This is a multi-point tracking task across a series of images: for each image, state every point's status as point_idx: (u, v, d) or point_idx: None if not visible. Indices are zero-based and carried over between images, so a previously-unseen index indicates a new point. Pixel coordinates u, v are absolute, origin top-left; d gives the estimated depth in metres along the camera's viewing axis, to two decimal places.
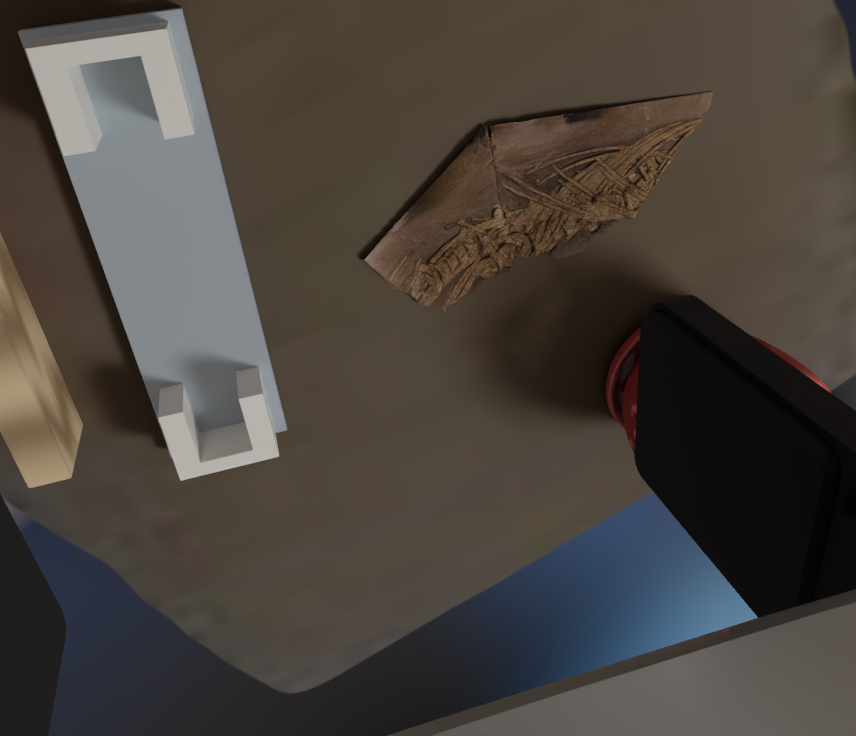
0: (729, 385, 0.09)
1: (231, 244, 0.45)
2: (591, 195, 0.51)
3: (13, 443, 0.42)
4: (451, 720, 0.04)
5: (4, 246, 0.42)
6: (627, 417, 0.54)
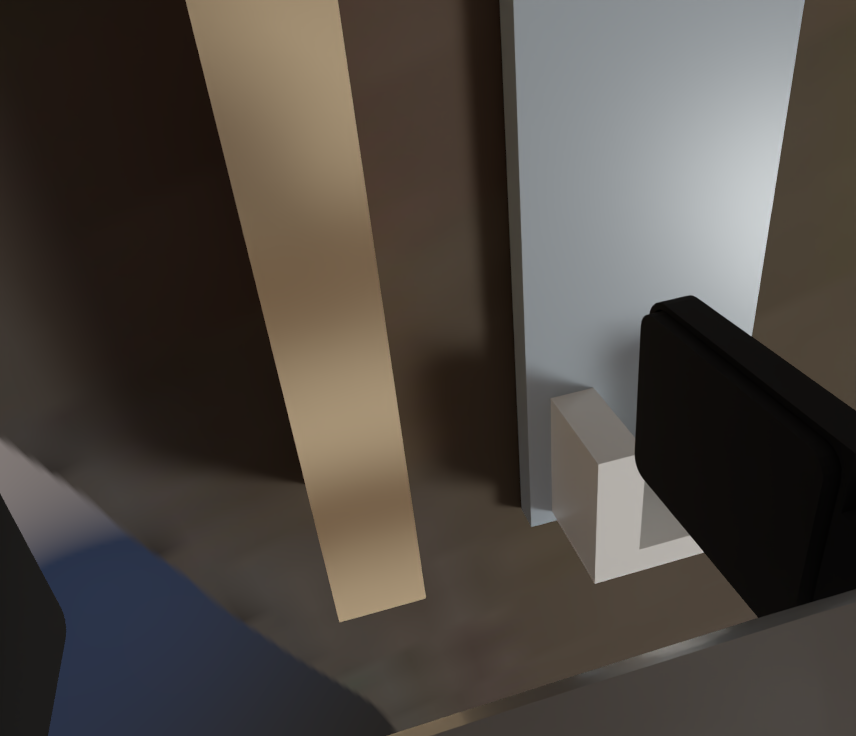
0: (729, 385, 0.09)
1: (774, 87, 0.21)
2: None
3: (332, 532, 0.18)
4: (451, 720, 0.04)
5: None
6: None
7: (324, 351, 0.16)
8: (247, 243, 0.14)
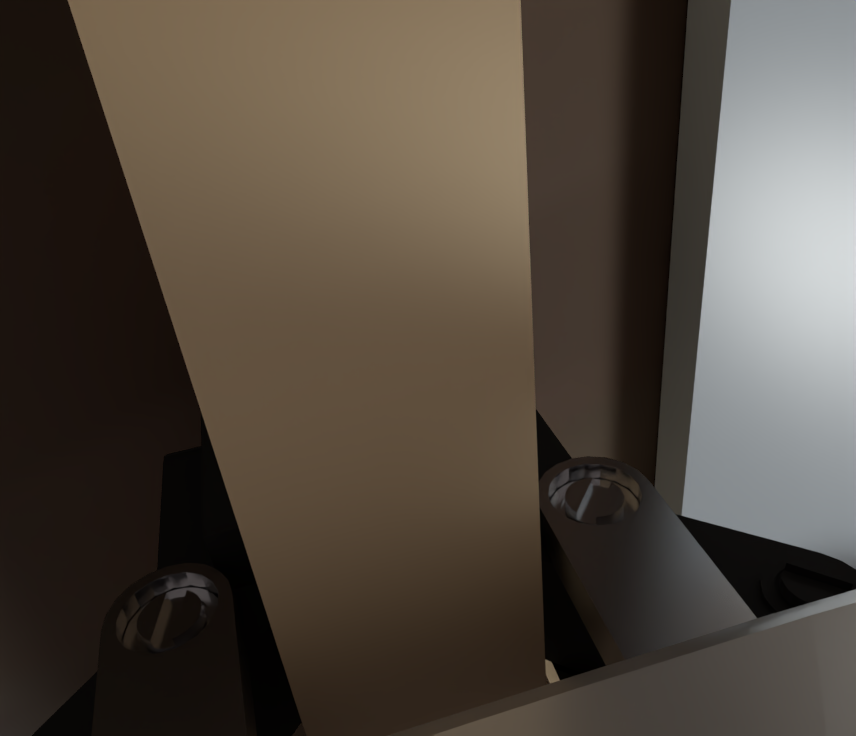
0: None
1: None
2: None
3: None
4: (451, 720, 0.04)
5: None
6: None
7: None
8: (294, 686, 0.07)
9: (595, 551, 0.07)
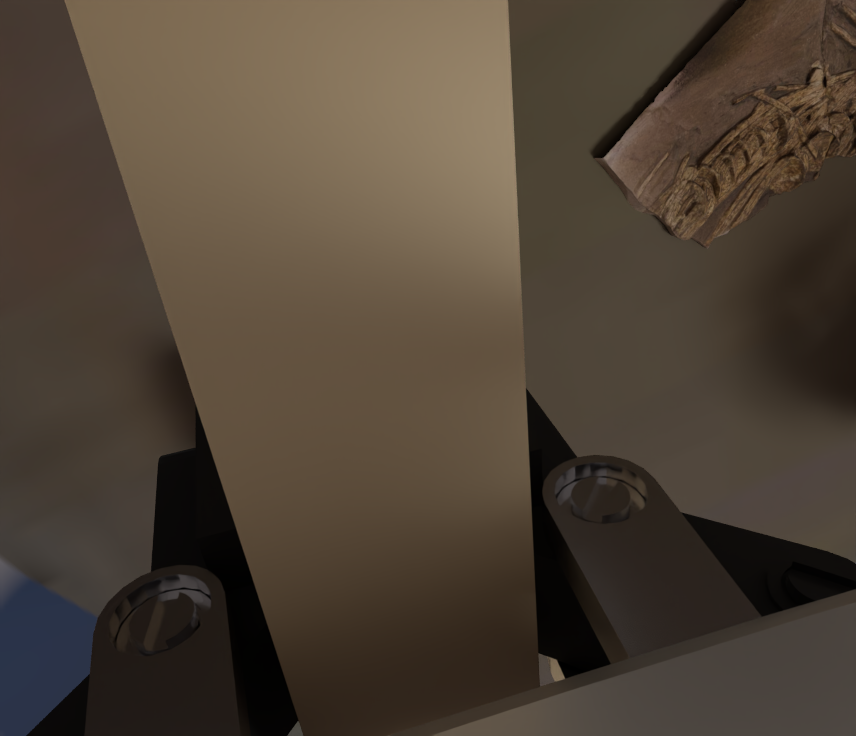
0: None
1: None
2: None
3: None
4: (452, 720, 0.04)
5: None
6: None
7: None
8: (289, 681, 0.07)
9: (601, 549, 0.07)
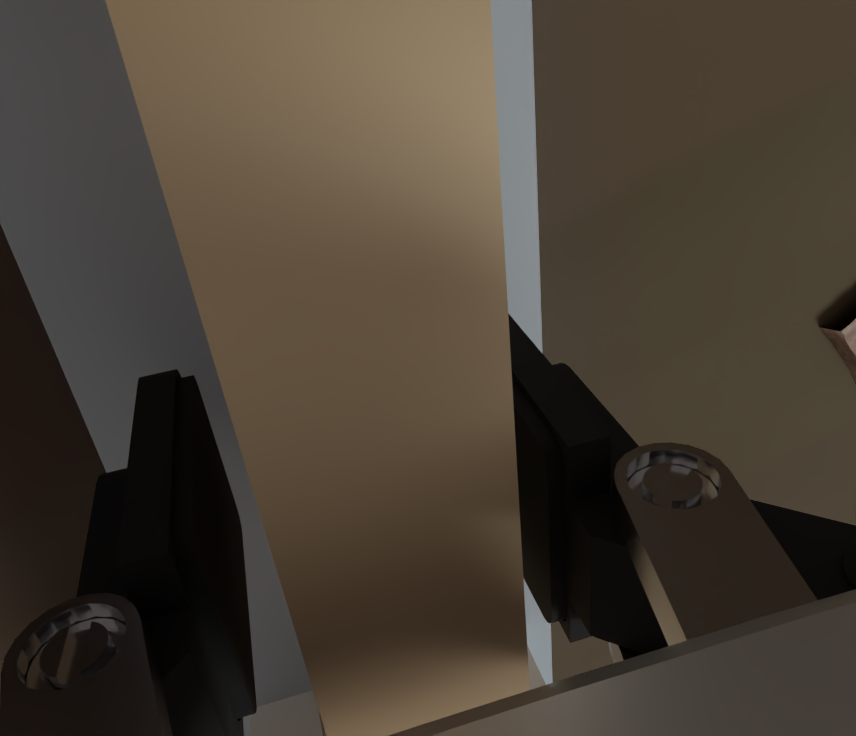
0: None
1: (513, 298, 0.13)
2: None
3: None
4: (451, 720, 0.04)
5: None
6: None
7: None
8: (295, 618, 0.07)
9: (667, 532, 0.07)
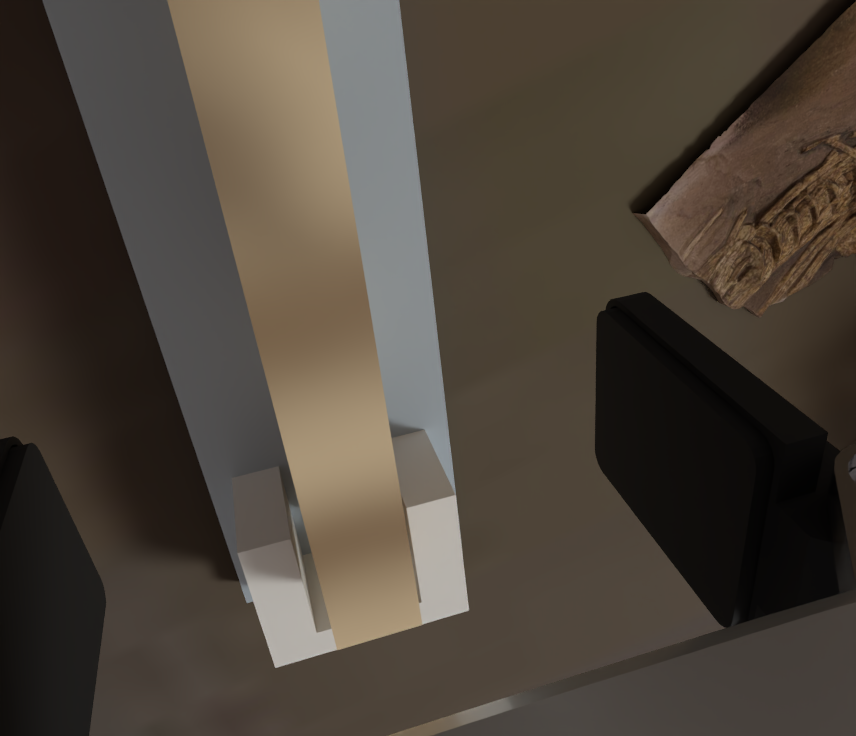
0: (674, 379, 0.09)
1: (400, 172, 0.20)
2: None
3: (328, 561, 0.19)
4: (451, 720, 0.04)
5: None
6: None
7: (318, 385, 0.16)
8: (242, 282, 0.15)
9: None
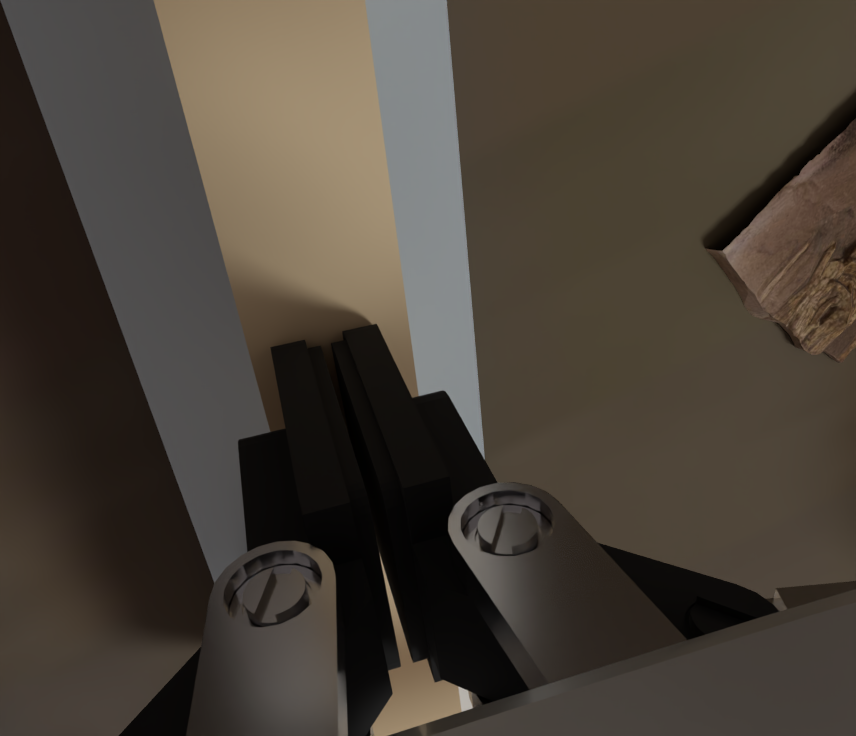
0: (357, 416, 0.09)
1: (442, 208, 0.17)
2: None
3: None
4: (451, 720, 0.04)
5: None
6: None
7: None
8: (257, 374, 0.11)
9: (515, 584, 0.07)
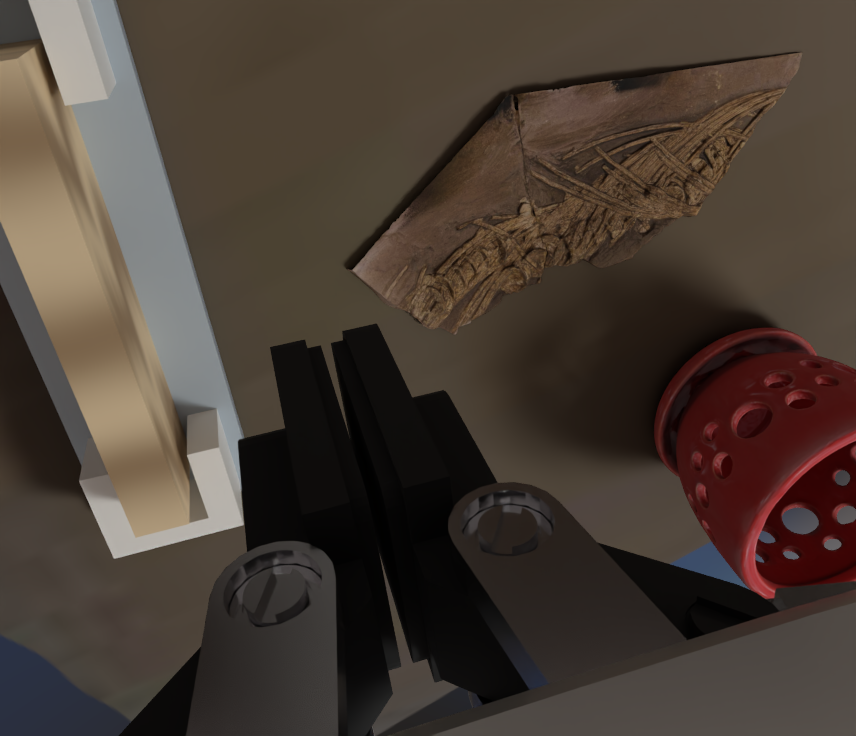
0: (357, 416, 0.09)
1: (175, 251, 0.34)
2: (644, 186, 0.40)
3: (120, 480, 0.32)
4: (451, 720, 0.04)
5: (108, 220, 0.32)
6: (685, 466, 0.43)
7: (97, 378, 0.30)
8: (45, 325, 0.28)
9: (515, 584, 0.07)
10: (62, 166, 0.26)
